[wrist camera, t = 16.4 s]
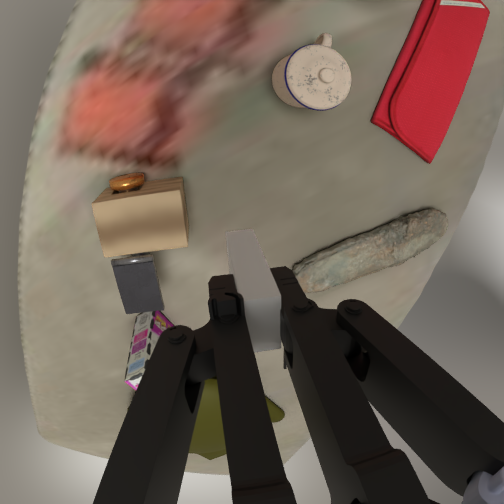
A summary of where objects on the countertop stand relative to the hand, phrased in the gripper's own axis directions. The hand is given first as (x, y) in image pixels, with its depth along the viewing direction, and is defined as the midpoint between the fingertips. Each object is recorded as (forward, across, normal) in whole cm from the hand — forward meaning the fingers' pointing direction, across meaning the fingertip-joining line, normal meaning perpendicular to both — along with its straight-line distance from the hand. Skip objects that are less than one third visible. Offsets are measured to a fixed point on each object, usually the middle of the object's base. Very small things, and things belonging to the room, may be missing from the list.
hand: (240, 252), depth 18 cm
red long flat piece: (+33, +42, +19) cm, 57 cm away
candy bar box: (+32, -13, -31) cm, 46 cm away
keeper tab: (+24, -13, -15) cm, 31 cm away
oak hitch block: (+32, -11, -6) cm, 34 cm away
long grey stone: (+33, +28, -18) cm, 47 cm away
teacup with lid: (+32, +14, +13) cm, 38 cm away
